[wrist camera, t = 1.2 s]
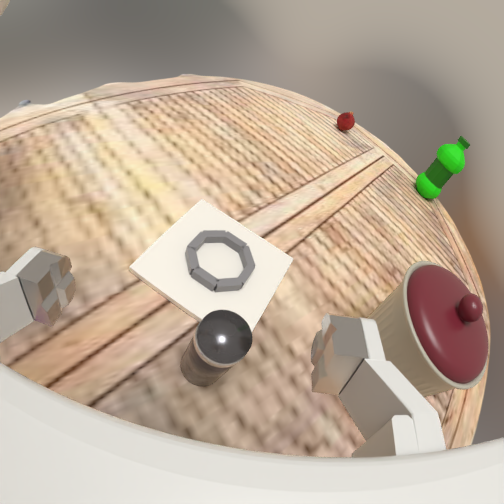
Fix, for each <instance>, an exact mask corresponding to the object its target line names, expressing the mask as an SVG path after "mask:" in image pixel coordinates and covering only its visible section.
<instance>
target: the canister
mask: <svg viewBox="0 0 504 504" xmlns="http://www.w3.org/2000/svg"><path fill="white" fill-rule="evenodd" d="M482 313H483V305H482V302H481V300H480V298H479V297H478V296H477V295H475V294H472V293H470V291H469V290H468V289H467V287H466V286H465V285H464V284H463V283H462V282H461V280H460V279H459V278H457V277H456V276H455V275H454V274H453V273H451V272H450V271H448V270H447V269H445V268H443V267H441V266H440V265H438V264H435V263H433V262H429V261H419V262H416V263H414V264H413V265H411V266H410V267H409V269H408V270H407V272H406V274H405V276H404V279H403V281H402V283H401V284H400V285H399V286H398V287H397V288H396V289H395V290H394V291H393V292H392V293H391V294H390V295H389V296H388V297H387V298H386V299H385V300H384V301H383V302H382V303H381V304H380V305H379V306H378V307H377V308H376V309H375V310H374V311H373V312H372V313H371V314H370V315H369V316H368V317H367V319H374V320H375V321H376V324H377V328H378V331H379V335H380V339H381V343H382V347H383V351H384V355H385V359H386V361H390V362H391V363H392V364H393V365H394V366H395V367H396V368H397V369H398V370H399V371H400V372H401V373H402V374H403V375H404V377H405V378H406V379H407V380H408V381H409V382H410V383H411V384H412V385H413V386H414V387H415V388H416V390H417V391H418V392H419V393H420V394H421V395H422V396H423V397H427V396H431V395H434V394H438V393H442V392H445V391H449V390H452V389H455V388H456V389H469V388H472V387H474V386H475V385H476V384H478V382H479V381H480V380H481V378H482V377H483V375H484V372H485V369H486V365H487V357H488V336H487V330H486V326H485V322H484V319H483V316H482Z"/></svg>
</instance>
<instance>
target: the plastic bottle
mask: <svg viewBox="0 0 504 504" xmlns="http://www.w3.org/2000/svg"><path fill="white" fill-rule="evenodd" d="M458 141H459V142H458V143H457V144H444V145H442V146H441V147H440V148H439V149H438V151H437V158H436V159H435V160H434V162H433V163H432V164H431V165H430V167H429V168H428V169H427V171H426V172H423V173H421V174H420V175H419V176H418V177H417V179H416V186H417V191H418V192H419V193H420V195H422V196H423V197H424V198H426V199H427V198H428V199H434V198H436V197H437V196H438V195H439V194H440V192H441V189H442V187H443V185H444V184H445V183H446V182H447V181H448V180H449V178H450V177H451V176H452V175H453V174H458V173H459V172H460V171H461V170H462V169H463V168H464V165H465V159H464V153H463V151H464V150H465V148H466V149H467V148H468V147H469V146H470V144H469V143H468V142H467V140H465V139H464V138H463V137H462V136H460V138H459V139H458Z"/></svg>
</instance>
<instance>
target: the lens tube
mask: <svg viewBox="0 0 504 504" xmlns="http://www.w3.org/2000/svg"><path fill="white" fill-rule="evenodd" d="M251 344H252V332H251V329H250V327H249V325H248V323H247V322H246V321H245V320H244V319H243V318H242V317H241V316H240V315H238V314H237V313H235V312H232V311H229V310H215V311H212V312H210V313H209V314H207V315H206V316H205V317H204V318H203V319H202V320H201V322H200V323H199V324H198V326H197V328H196V330H195V333H194V336H193V338H192V340H191V342H190V344H189V346H188V348H187V350H186V352H185V354H184V356H183V358H182V360H181V370H182V373H183V375H184V377H185V378H186V379H187V380H188V381H189V382H190V383H192V384H194V385H197V386H208V385H211V384H213V383H214V382H216V381H217V380H218V379H219V378H220V377H221V376H222V375H223V374H225V373H226V372H227V371H228V370H229V369H230V368H231V367H232V366H233V365H235V364H237V363H238V362H239V361H240V360H242V359H243V358H244V356H245V355H246V354H247V352H248V351H249V349H250V347H251Z"/></svg>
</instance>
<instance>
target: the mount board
mask: <svg viewBox="0 0 504 504" xmlns="http://www.w3.org/2000/svg"><path fill="white" fill-rule="evenodd" d="M292 261H293V258H292V257H290V256H289V255H287V254H286V253H284V252H283V251H281V250H280V249H278V248H277V247H275V246H274V245H272V244H270V243H269V242H267V241H266V240H264V239H263V238H261V237H260V236H258V235H257V234H255V233H254V232H252V231H251V230H249V229H248V228H246V227H245V226H243V225H241V224H240V223H238V222H237V221H235V220H234V219H232V218H231V217H229V216H228V215H226V214H225V213H223V212H221V211H220V210H218V209H217V208H215V207H214V206H212V205H211V204H209V203H207V202H206V201H204V200H203V199H201V200H200V201H199V202H198V203H197V204H195V205H194V206H193V207H192V208H191V209H190V210H189V211H188V212H187V213H185V214H184V215H183V216H182V217H181V218H180V219H179V220H178V221H177V222H176V223H175V224H173V225H172V226H171V227H170V228H169V229H168V230H167V231H166V232H165V233H164V234H163V235H162V236H161V237H160V238H159V239H157V240H156V241H155V242H154V243H153V244H152V245H151V246H150V247H149V248H148V249H147V250H146V251H145V252H144V253H143V254H142V255H141V256H140V257H139V258H138V259H137V260H136V261H135V262H134V263H133V264H132V265H131V266H130V267H129V271H130V272H131V273H133V274H134V275H135V276H137V277H138V278H139V279H141V280H142V281H143V282H144V283H146V284H147V285H148V286H150V287H151V288H153V289H154V290H155V291H157V292H158V293H159V294H161V295H162V296H163V297H165V298H166V299H168V300H169V301H170V302H172V303H173V304H174V305H176V306H177V307H179V308H180V309H182V310H183V311H184V312H186V313H187V314H189V315H190V316H192V317H193V318H194V319H196V320H197V321H199V322H201V320H202V319H203V318H204V317H205V316H206V315H207V314H209V313H210V312H212V311H215V310H229V311H232V312H235V313H237V314H238V315H240V316H241V317H242V318H243V319H244V320H245V321H246V322H247V323H248V325H249V327H250V329H251V332H252V331H253V329H254V327H255V326H256V324H257V322H258V321H259V319H260V317H261V315H262V314H263V312H264V310H265V308H266V307H267V305H268V303H269V301H270V300H271V298H272V296H273V294H274V293H275V291H276V289H277V287H278V286H279V284H280V282H281V280H282V278H283V277H284V275H285V273H286V271H287V270H288V268H289V266H290V264H291V262H292Z"/></svg>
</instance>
